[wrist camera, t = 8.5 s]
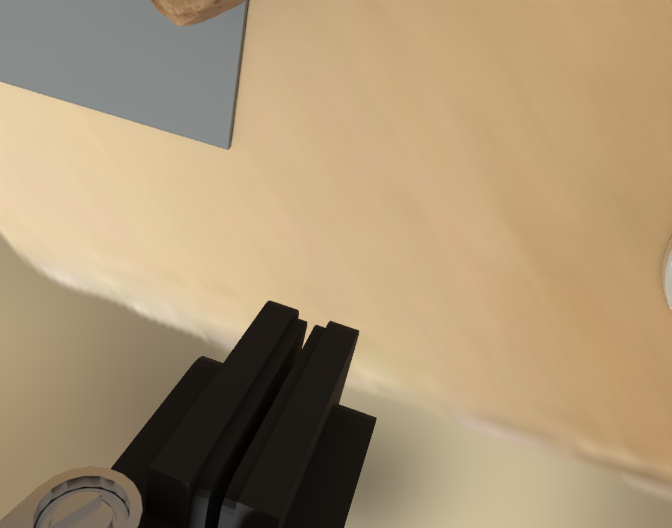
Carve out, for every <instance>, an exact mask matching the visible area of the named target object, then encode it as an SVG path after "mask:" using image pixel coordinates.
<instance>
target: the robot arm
mask: <svg viewBox="0 0 672 528" xmlns="http://www.w3.org/2000/svg"><path fill="white" fill-rule="evenodd" d="M662 282H663V291H664V293H665V296H666V299H667V302H668V304H669V307H670V309H671V311H672V237H671V239H670V241H669V244H668V247H667V249H666V252H665V254H664V260H663V267H662ZM298 317H299V311H298V310H297V309H294V308H291V307H288V306H285V305H282V304H279V303H276V302H273V301H268V302H267V303H266V304H265V305H264V307H263V308H262V310H261V311H260V312H259V314H258V315H257V317H256V318H255V319H254V321H253V322H252V324H251V325H250V326H249V328H248V329H247V331H246V332H245V333H244V335H243V336H242V338H241V339H240V340H239V342H238V343H237V345H236V346H235V347H234V349H233V350H232V352H231V353H230V354H229V356H228V357H227V359H226V360H225V362H224V363H221V362H218V361H216V360H213V359H210V358H207V357H204V356H202V357H200V358H198V359H197V360H196V361H195V362H194V363H193V365H192V366H191V367H190V369H189V370H188V371H187V372H186V373H185V375H184V376H183V377H182V379H181V380H180V381H179V383H178V384H177V385H176V386H175V388H174V389H173V390H172V391H171V393H170V394H169V395H168V396H167V398H166V399H165V400H164V402H163V403H162V404H161V405H160V407H159V408H158V409H157V411H156V412H155V413H154V414H153V416H152V417H151V418H150V420H149V421H148V422H147V423H146V424H145V426H144V427H143V429H142V430H141V431H140V432H139V433H138V435H137V436H136V437H135V439H134V440H133V441H132V442H131V444H130V445H129V446H128V447H127V449H126V450H125V451H124V453H123V454H122V455H121V456H120V458H119V459H118V460H117V461H116V463H115V464H114V465H113V466H112V468H111V469H109V468H102V467H92V466H90V467H82V468H75V469H71V470H68V471H66V472H63V473H61V474H58V475H55V476H54V477H52V478H51V479H49V480H48V481H46V482H45V483H43V484H42V485H40V486H39V487H38V488H37V489H35V491H33V492H32V493H31V494H30V495H29V496H27V497H26V498H25V499H24V500H23V501H22V502H21V503H19V504H18V505H17V506H16V507H15V508H14V509H13V510H12V511H10V512H9V513H8V514H7V515H6V516H5V517H3V518H2V519H1V520H0V528H344V526H345V522H346V519H347V515H348V512H349V509H350V505H351V502H352V499H353V496H354V493H355V489H356V486H357V483H358V479H359V476H360V472H361V469H362V466H363V463H364V459H365V456H366V453H367V449H368V446H369V443H370V439H371V436H372V433H373V430H374V426H375V423H376V419H377V418H376V417H373V416H370V415H367V414H365V413H362V412H359V411H356V410H353V409H350V408H348V407H345V406H342V405H339V402H340V398H341V395H342V391H343V388H344V384H345V381H346V377H347V374H348V370H349V367H350V363H351V360H352V356H353V353H354V349H355V346H356V342H357V339H358V335H359V330H356V329H353V328H350V327H347V326H344V325H341V324H338V323H335V322H332V321H329V323H328V324H327V326H326V328H324V327H321V326H318V325H315V326H314V328H313V330H312V332H311V334H310V335H309V337H308V339H307V341H306V343H305V345H304V347H303V348H302V346H303V342H304V337H305V333H306V329H307V321H304V320H301V319H298Z"/></svg>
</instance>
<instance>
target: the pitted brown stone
mask: <svg viewBox="0 0 672 528" xmlns="http://www.w3.org/2000/svg"><path fill="white" fill-rule="evenodd" d="M150 1H151V2H152V3H153V4H154V6H155V7H156V8H157V9H158V10H159V12H160V13H161V14H162V15H164V16H166V17H168V18H169V19H171V20H172V22H173V23H174V24H176V25H177V26H191V25H194V24H197V23H201V22H204V21H206V20H208V19H210V18H214V17H216V16H218V15H220V14H221V13H223V12H226V11H228V10H230V9H232V8H234V7H236V6H238V5H240V4H242V3H244V2H245V1H247V0H150Z"/></svg>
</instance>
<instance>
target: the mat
mask: <svg viewBox="0 0 672 528" xmlns="http://www.w3.org/2000/svg"><path fill="white" fill-rule="evenodd" d="M247 7H248V0H247V1H245V2H244V3H242V4H240V5H238V6H236V7H234V8H232V9H230V10H228V11H226V12H223V13H221V14H220V15H218V16H216V17H214V18H210V19H208V20H206V21H204V22H201V23H197V24H194V25H191V26H177V25H176V24H174V23H173V22H172V20H171V19H169V18H168V17H166V16H164V15H162V14H161V13H160V12H159V10H158V9H157V8H156V7H155V6H154V4H153V3H152V2H151V1H150V0H0V82H3V83H7V84H10V85H13V86H17V87H20V88H23V89H27V90H30V91H33V92H37V93H40V94H43V95H47V96H50V97H53V98H57V99H60V100H63V101H67V102H70V103H73V104H77V105H80V106H83V107H87V108H90V109H93V110H97V111H100V112H103V113H107V114H110V115H113V116H117V117H120V118H123V119H127V120H130V121H133V122H137V123H140V124H143V125H147V126H150V127H153V128H157V129H160V130H163V131H167V132H170V133H173V134H177V135H180V136H183V137H187V138H190V139H193V140H197V141H200V142H203V143H207V144H210V145H213V146H217V147H220V148H223V149H227V150H228V149H229V148H230V145H231V137H232V129H233V121H234V113H235V104H236V96H237V88H238V80H239V72H240V64H241V56H242V48H243V40H244V32H245V24H246V16H247Z"/></svg>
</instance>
